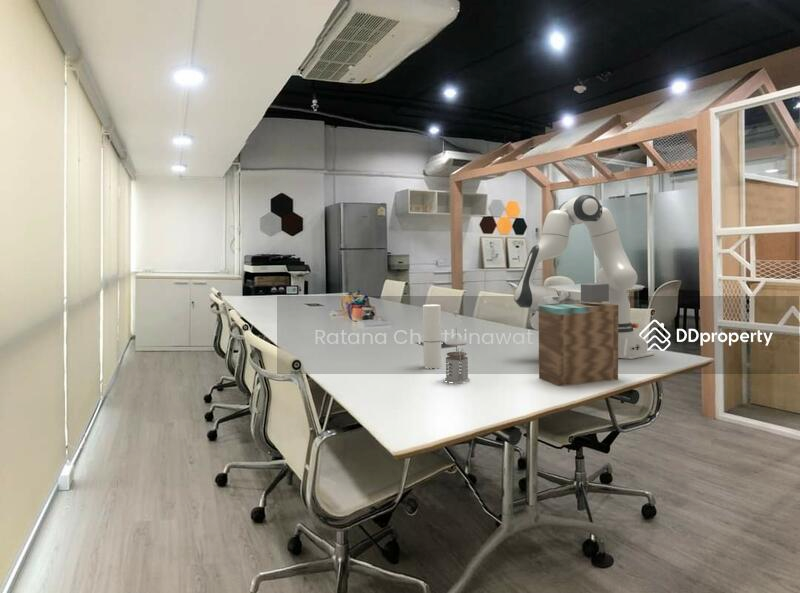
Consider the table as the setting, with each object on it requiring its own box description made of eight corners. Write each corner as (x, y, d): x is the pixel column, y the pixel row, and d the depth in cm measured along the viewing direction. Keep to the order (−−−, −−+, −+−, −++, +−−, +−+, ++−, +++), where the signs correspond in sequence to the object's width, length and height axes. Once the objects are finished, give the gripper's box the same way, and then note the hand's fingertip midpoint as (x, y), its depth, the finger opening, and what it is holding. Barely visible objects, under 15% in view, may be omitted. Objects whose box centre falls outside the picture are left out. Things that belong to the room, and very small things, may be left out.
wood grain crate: (595, 372, 196) (595, 302, 194) (618, 379, 184) (618, 305, 182) (539, 378, 188) (538, 305, 186) (558, 385, 177) (558, 308, 175)
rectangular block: (573, 297, 202) (573, 281, 202) (608, 301, 183) (608, 284, 183) (557, 298, 200) (557, 282, 200) (591, 302, 181) (591, 285, 181)
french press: (465, 376, 195) (464, 309, 193) (476, 383, 183) (475, 312, 181) (439, 378, 192) (438, 310, 190) (449, 385, 181) (448, 313, 179)
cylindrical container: (441, 365, 215) (440, 304, 213) (441, 369, 208) (440, 306, 206) (424, 365, 216) (423, 304, 214) (423, 369, 208) (422, 306, 207)
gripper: (531, 303, 206) (548, 287, 194) (575, 300, 212) (595, 284, 200) (535, 318, 203) (553, 302, 191) (580, 314, 209) (600, 299, 197)
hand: (575, 293), depth 195 cm, fingers closed on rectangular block, 4 cm apart
